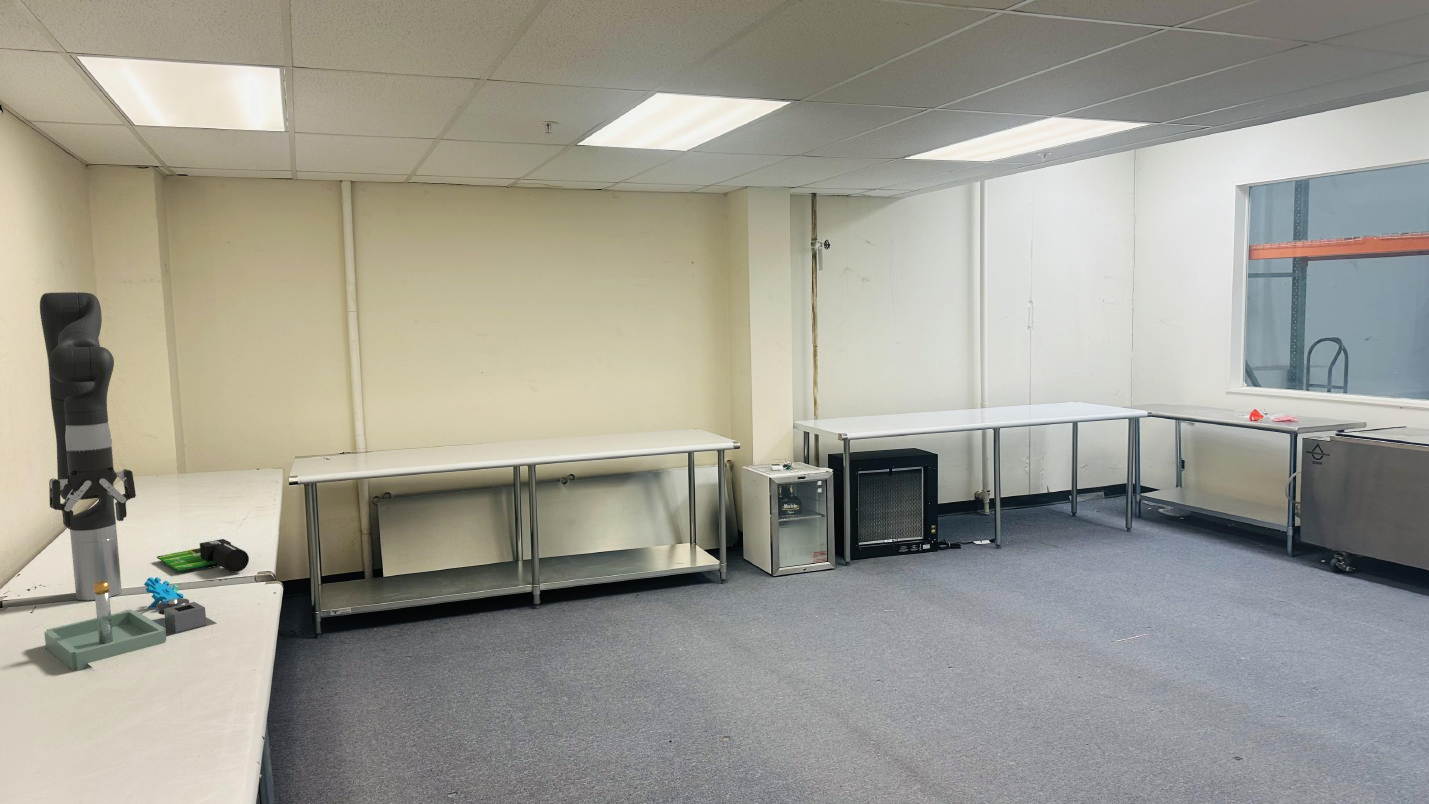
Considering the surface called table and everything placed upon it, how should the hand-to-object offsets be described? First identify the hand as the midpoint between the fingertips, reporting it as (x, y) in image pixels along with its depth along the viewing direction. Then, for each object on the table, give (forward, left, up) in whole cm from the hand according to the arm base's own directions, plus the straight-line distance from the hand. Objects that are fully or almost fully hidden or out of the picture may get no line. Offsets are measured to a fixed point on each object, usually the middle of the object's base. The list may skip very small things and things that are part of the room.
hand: (95, 524), depth 180 cm
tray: (0, 0, -26) cm, 26 cm away
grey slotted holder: (0, +14, -26) cm, 29 cm away
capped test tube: (0, 0, -25) cm, 25 cm away
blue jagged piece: (-17, +17, -26) cm, 35 cm away
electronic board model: (-47, +36, -26) cm, 65 cm away
